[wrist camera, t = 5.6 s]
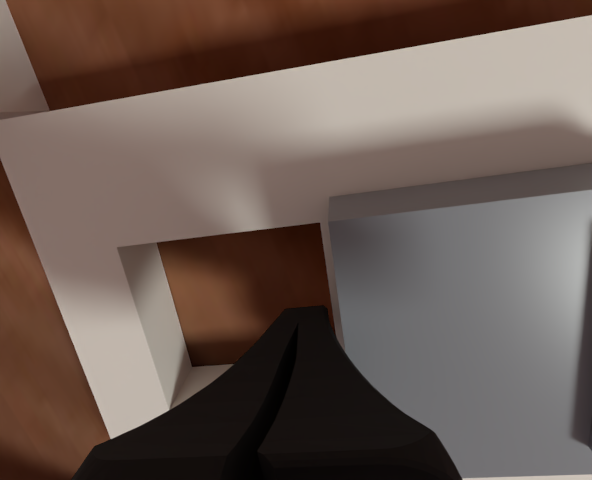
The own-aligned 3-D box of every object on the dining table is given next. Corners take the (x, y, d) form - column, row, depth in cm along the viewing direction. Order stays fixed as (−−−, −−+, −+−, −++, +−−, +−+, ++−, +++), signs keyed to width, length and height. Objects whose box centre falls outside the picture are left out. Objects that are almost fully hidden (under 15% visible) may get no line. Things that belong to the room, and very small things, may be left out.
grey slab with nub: (607, 405, 13) (686, 493, 10) (358, 418, 14) (364, 500, 11) (639, 156, 10) (758, 179, 7) (329, 197, 11) (327, 229, 8)
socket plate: (621, 424, 16) (671, 480, 14) (158, 445, 19) (133, 495, 16) (681, 7, 11) (774, -18, 9) (45, 118, 14) (-14, 122, 11)
